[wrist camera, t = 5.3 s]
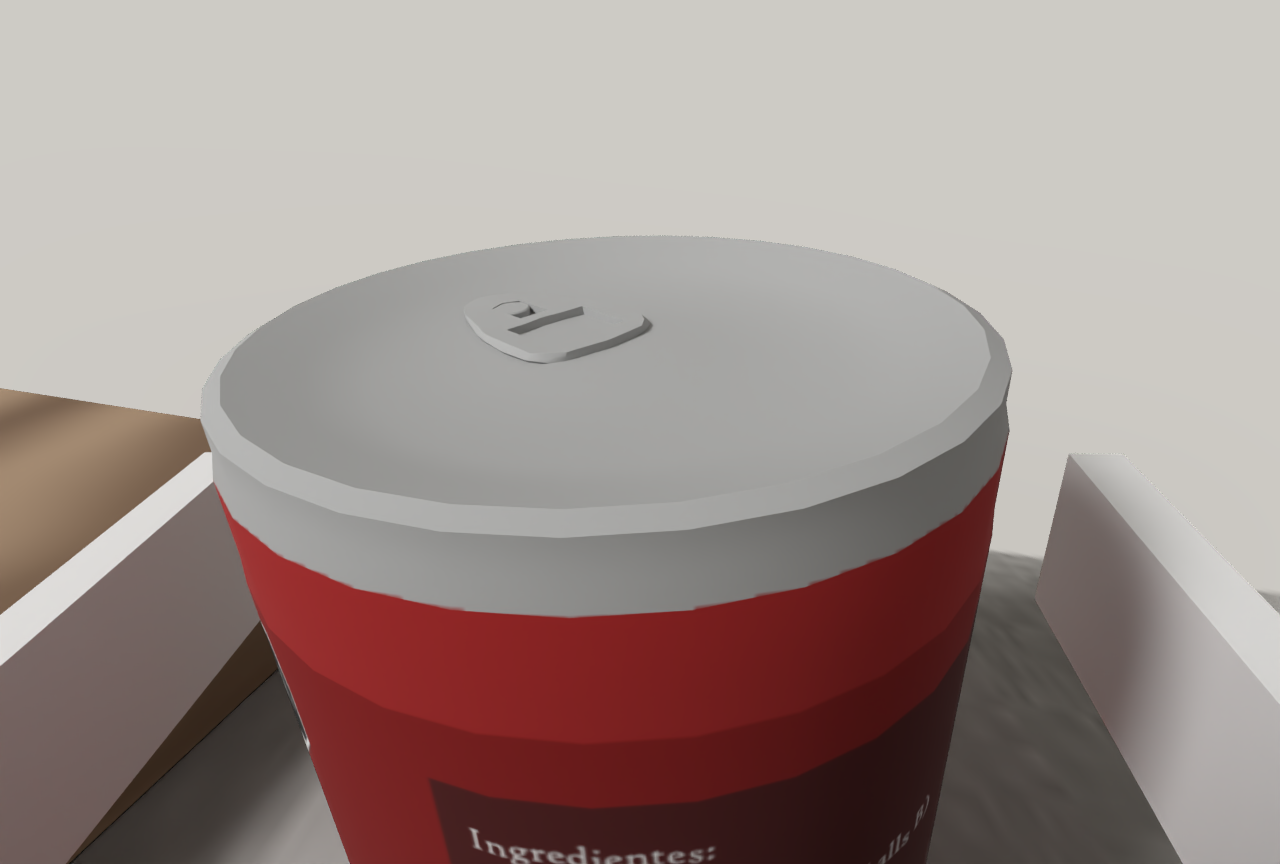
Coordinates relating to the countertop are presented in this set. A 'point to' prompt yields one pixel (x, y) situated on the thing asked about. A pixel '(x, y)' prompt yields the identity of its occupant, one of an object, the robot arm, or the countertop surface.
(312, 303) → the canned food
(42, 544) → the walnut stand
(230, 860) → the countertop surface
